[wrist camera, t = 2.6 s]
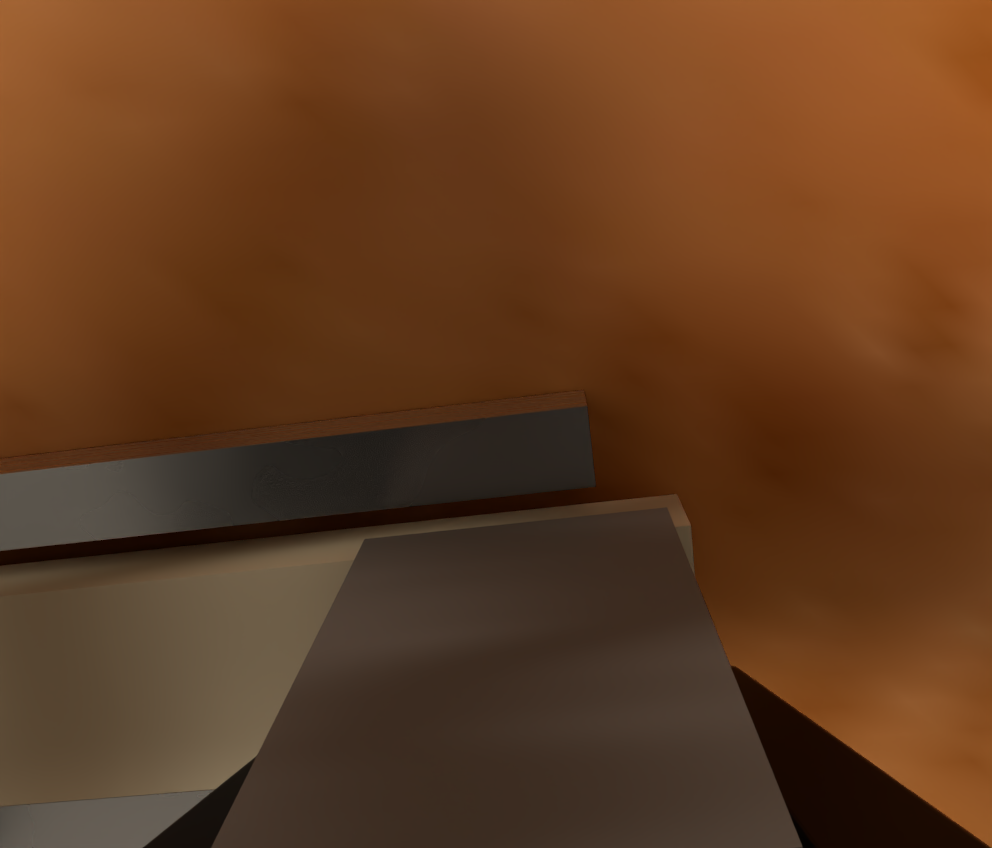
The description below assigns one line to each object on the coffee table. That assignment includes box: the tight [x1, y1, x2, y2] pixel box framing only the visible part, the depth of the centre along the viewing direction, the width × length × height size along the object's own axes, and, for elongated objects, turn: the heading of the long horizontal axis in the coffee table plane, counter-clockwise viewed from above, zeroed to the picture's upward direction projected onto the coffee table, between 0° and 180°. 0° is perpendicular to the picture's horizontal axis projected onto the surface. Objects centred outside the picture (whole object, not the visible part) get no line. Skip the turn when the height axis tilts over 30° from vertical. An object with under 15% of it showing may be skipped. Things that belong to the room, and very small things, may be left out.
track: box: [0, 390, 596, 848], centre depth 11 cm, size 13×6×1 cm, turn 98°
